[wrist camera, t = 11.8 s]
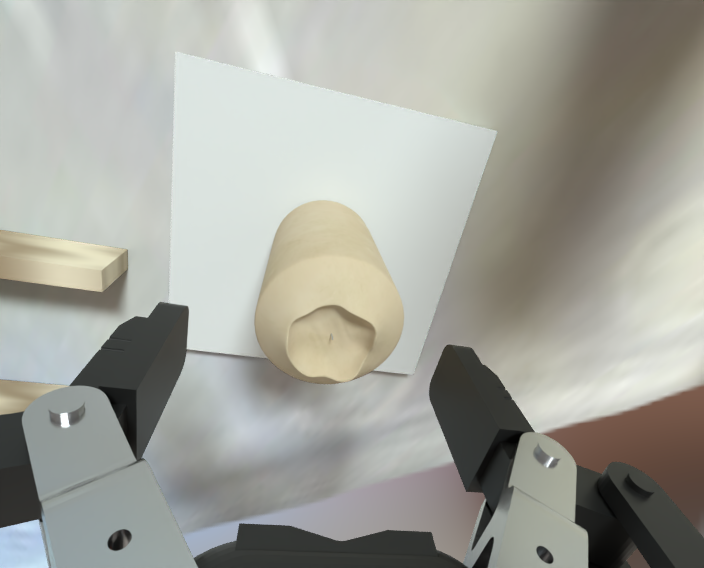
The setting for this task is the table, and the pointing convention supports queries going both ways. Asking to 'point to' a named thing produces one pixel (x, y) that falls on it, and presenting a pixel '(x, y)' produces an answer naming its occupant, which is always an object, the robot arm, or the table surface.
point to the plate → (308, 193)
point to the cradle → (58, 270)
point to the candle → (327, 297)
